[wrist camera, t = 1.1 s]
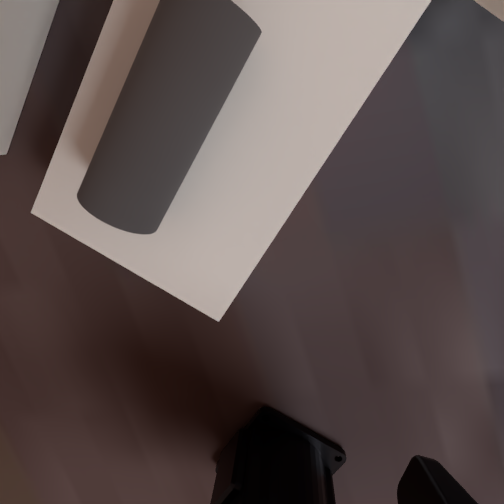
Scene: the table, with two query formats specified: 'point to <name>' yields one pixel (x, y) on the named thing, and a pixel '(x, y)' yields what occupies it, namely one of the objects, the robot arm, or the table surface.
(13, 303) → the table surface
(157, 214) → the rod
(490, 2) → the cover
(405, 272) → the table surface
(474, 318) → the table surface
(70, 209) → the white block with cutout
